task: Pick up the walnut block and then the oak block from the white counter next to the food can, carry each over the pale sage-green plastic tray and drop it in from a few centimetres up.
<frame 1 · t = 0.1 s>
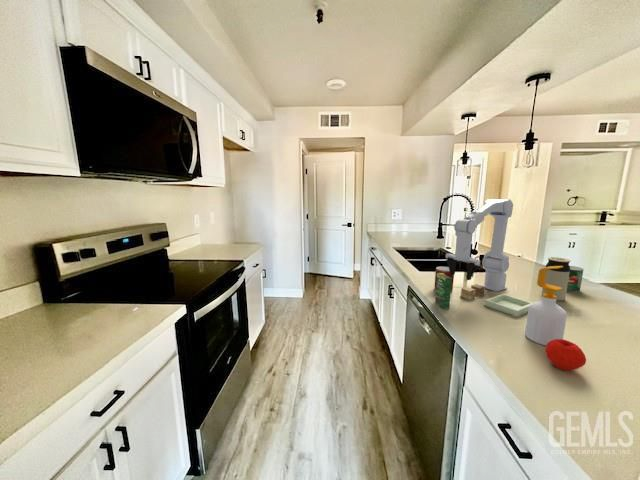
hand: (460, 277, 115), 10 cm above the counter, fingers open, 7 cm apart
canned tomato: (568, 289, 128), on the counter
apple: (562, 367, 70), on the counter
block b: (467, 297, 118), on the counter
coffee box: (441, 305, 110), on the counter
canned food: (443, 290, 127), on the counter
soap bottle: (542, 339, 84), on the counter
travel mug: (552, 298, 118), on the counter
tray: (508, 307, 107), on the counter
block a: (477, 294, 122), on the counter
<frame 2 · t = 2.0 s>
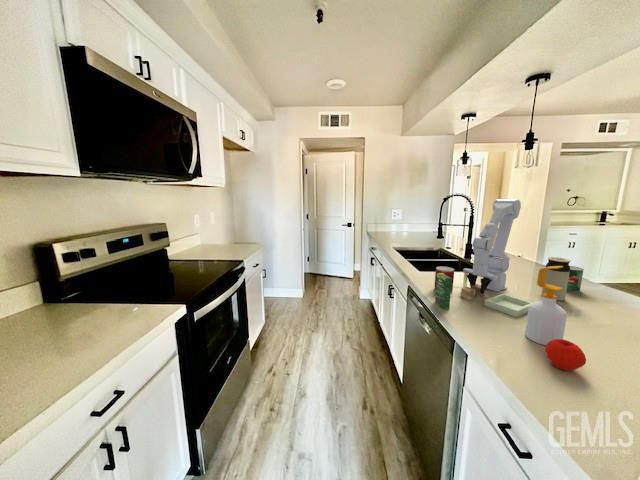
hand: (477, 291, 122), 1 cm above the counter, fingers closed on block a, 4 cm apart
block a: (477, 294, 122), on the counter, touching gripper
everything else where it was.
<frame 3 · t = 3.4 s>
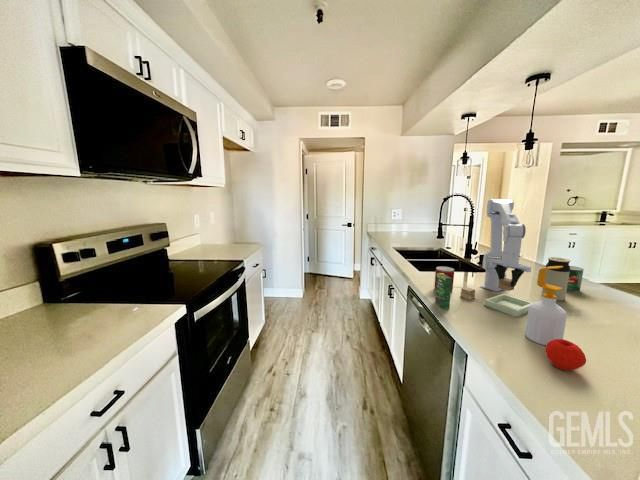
hand: (507, 284, 110), 9 cm above the counter, fingers closed on block a, 4 cm apart
block a: (506, 288, 110), point 7 cm above the counter, touching gripper
everything else where it was.
when the fingers open (4 cm above the counter, at t = 4.7 s): block a drops 2 cm, resting on tray.
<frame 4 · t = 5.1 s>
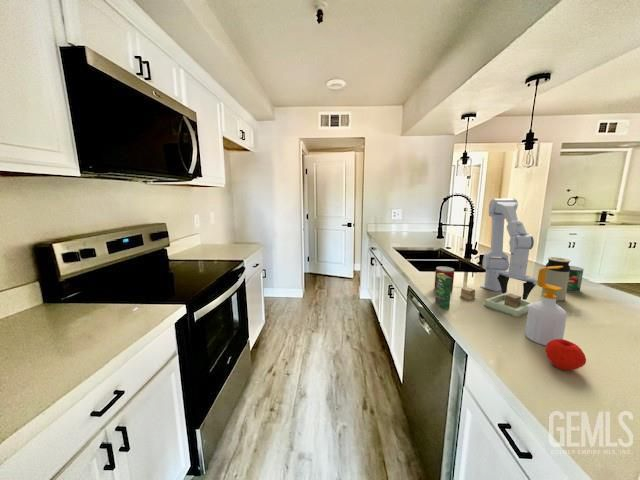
hand: (514, 296, 108), 4 cm above the counter, fingers open, 7 cm apart
block a: (512, 304, 108), point 1 cm above the counter, touching tray
everything else where it was.
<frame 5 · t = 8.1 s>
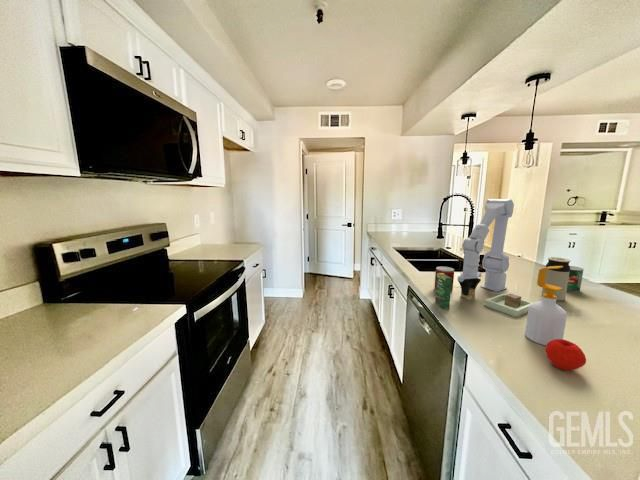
hand: (467, 294, 118), 1 cm above the counter, fingers closed on block b, 4 cm apart
block b: (467, 297, 118), on the counter, touching gripper
everything else where it was.
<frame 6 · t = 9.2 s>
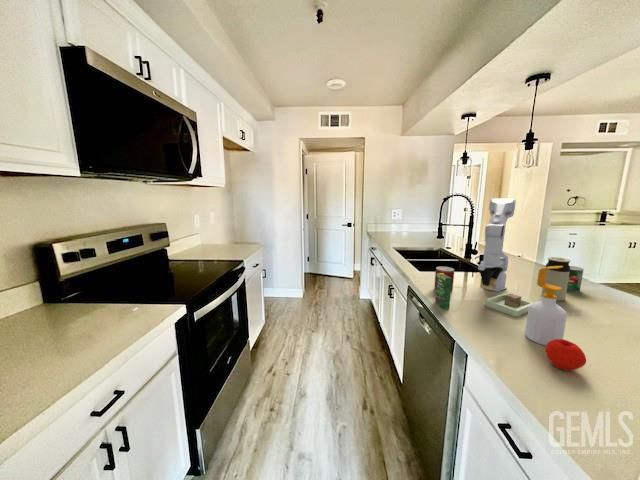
hand: (488, 284, 110), 8 cm above the counter, fingers closed on block b, 4 cm apart
block b: (487, 287, 111), point 7 cm above the counter, touching gripper
everything else where it was.
when the fingers open (4 cm above the counter, at t = 10.7 s): block b drops 2 cm, resting on tray.
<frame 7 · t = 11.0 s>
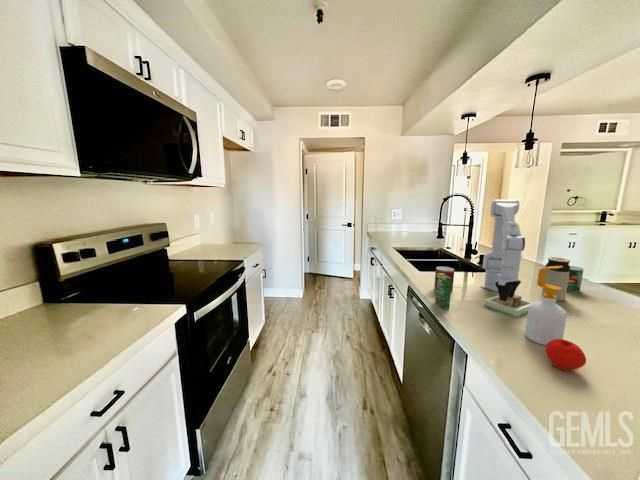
hand: (506, 298, 105), 4 cm above the counter, fingers open, 6 cm apart
block b: (504, 307, 106), point 1 cm above the counter, touching tray
block a: (512, 304, 108), point 1 cm above the counter, touching gripper
everything else where it was.
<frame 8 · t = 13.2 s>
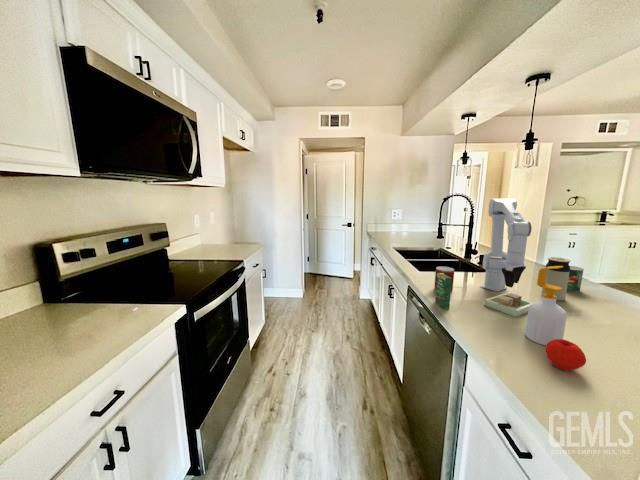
hand: (511, 284, 106), 10 cm above the counter, fingers open, 7 cm apart
block a: (512, 304, 109), point 1 cm above the counter, touching tray
everything else where it was.
at the end: block a inside the target area on the tray (2.9 cm from its centre), point 0.6 cm above the tray's base; block b inside the target area on the tray (3.0 cm from its centre), point 0.6 cm above the tray's base; the gripper is holding nothing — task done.
